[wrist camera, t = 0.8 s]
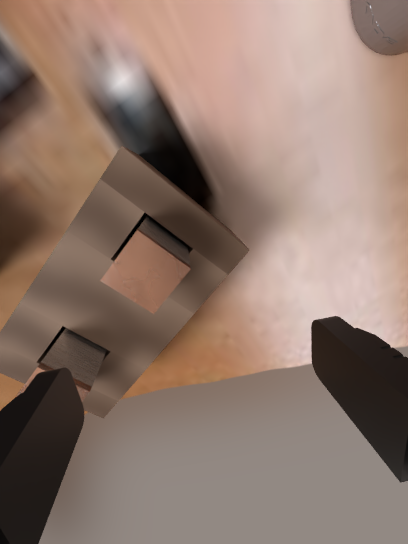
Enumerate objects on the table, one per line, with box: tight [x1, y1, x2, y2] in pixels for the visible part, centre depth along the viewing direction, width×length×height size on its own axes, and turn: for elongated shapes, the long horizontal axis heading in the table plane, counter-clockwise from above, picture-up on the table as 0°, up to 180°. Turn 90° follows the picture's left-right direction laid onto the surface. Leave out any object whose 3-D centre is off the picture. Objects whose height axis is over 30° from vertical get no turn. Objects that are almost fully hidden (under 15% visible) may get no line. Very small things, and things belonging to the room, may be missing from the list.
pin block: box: [0, 146, 249, 418], centre depth 25 cm, size 22×12×8 cm, turn 141°
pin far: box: [15, 328, 107, 401], centre depth 22 cm, size 4×4×7 cm
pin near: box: [100, 215, 191, 314], centre depth 19 cm, size 4×4×7 cm
